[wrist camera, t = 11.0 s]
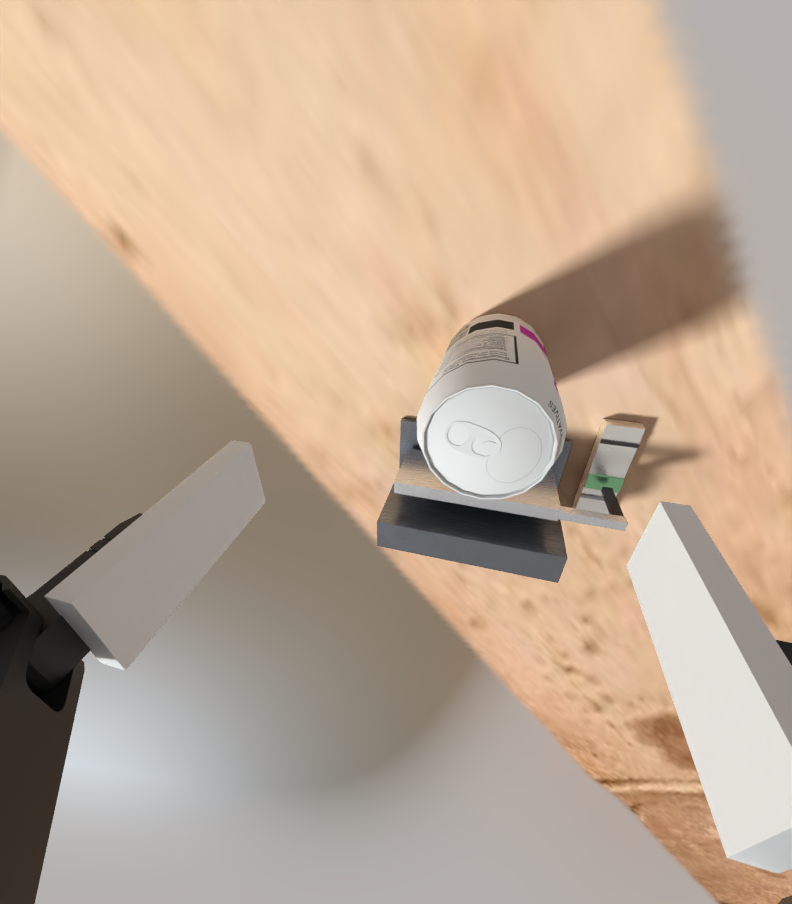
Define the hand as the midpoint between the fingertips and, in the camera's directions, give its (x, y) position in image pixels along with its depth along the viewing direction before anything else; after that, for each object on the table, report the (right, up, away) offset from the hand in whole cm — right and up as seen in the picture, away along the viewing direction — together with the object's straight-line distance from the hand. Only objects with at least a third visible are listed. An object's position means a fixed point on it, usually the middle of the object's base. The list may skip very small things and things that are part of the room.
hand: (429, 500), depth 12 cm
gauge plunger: (+9, 0, +24) cm, 25 cm away
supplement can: (+7, +10, +20) cm, 23 cm away
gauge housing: (+10, +1, +24) cm, 26 cm away
